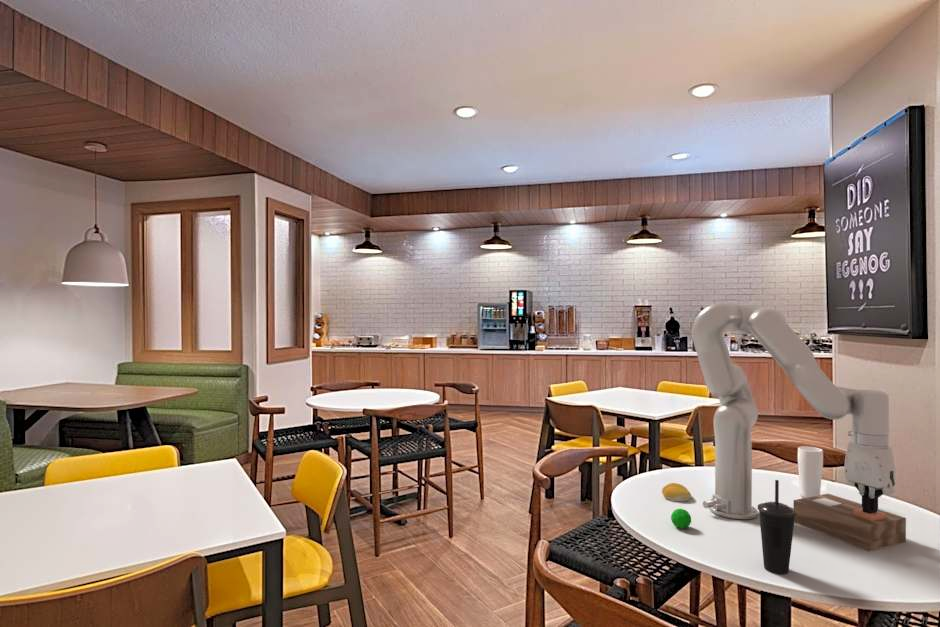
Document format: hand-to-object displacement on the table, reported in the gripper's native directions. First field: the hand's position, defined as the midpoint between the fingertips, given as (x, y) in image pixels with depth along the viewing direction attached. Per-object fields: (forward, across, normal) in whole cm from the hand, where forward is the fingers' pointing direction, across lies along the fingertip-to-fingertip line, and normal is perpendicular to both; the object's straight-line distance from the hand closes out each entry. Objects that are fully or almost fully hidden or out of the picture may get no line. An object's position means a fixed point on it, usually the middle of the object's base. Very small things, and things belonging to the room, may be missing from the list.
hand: (869, 511), depth 143 cm
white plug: (+5, -11, 0) cm, 12 cm away
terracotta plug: (+4, 0, 0) cm, 4 cm away
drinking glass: (+7, -28, +16) cm, 33 cm away
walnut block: (+7, -6, 0) cm, 9 cm away
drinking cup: (+7, +2, -36) cm, 37 cm away
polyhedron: (+7, -25, -38) cm, 46 cm away
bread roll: (+7, -44, -22) cm, 50 cm away
